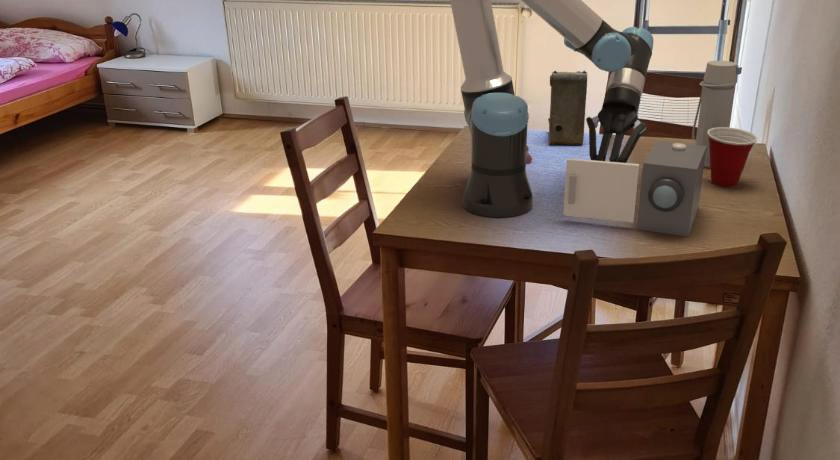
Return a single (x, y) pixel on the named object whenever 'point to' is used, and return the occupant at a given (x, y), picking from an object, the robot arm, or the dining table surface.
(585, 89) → the vintage camera
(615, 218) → the side door
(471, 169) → the robot arm
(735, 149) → the plastic cup
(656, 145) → the camera housing
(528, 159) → the video game controller
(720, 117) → the water bottle
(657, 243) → the dining table surface
